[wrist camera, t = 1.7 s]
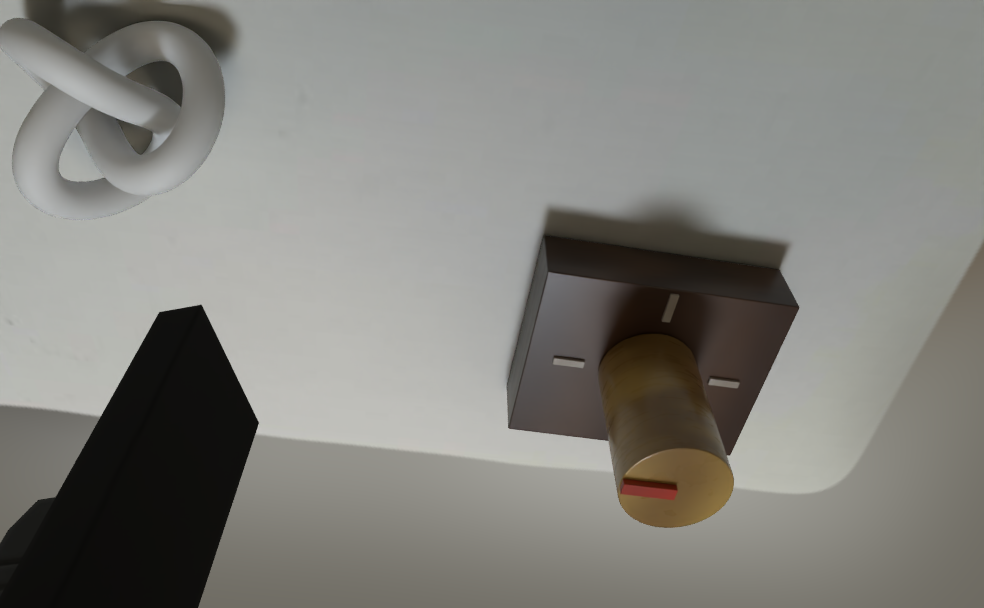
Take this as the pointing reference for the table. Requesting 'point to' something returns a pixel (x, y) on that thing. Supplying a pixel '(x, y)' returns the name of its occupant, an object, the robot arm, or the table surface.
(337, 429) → the table surface
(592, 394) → the plate
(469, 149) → the table surface
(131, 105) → the knot
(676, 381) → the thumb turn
